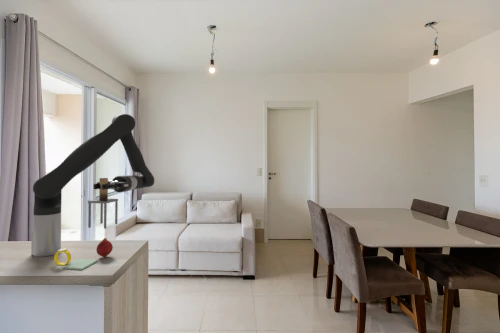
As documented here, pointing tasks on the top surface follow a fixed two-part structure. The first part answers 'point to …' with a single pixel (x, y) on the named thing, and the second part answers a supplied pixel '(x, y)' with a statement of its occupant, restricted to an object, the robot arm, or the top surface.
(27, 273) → the top surface
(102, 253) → the onion
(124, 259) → the top surface
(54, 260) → the watch
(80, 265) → the mat
